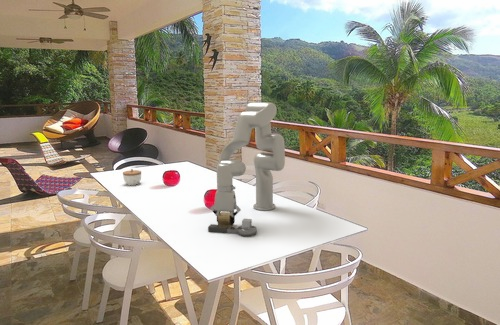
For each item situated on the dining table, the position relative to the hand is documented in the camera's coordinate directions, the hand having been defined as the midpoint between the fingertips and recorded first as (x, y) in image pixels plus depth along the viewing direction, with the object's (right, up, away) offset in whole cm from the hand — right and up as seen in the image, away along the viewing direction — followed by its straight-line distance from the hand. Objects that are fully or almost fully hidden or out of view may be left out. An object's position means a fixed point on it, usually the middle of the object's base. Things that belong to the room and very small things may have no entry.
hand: (225, 223), depth 197 cm
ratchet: (+4, -3, -9) cm, 10 cm away
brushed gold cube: (0, -1, 0) cm, 1 cm away
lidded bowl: (-72, +14, +90) cm, 116 cm away
